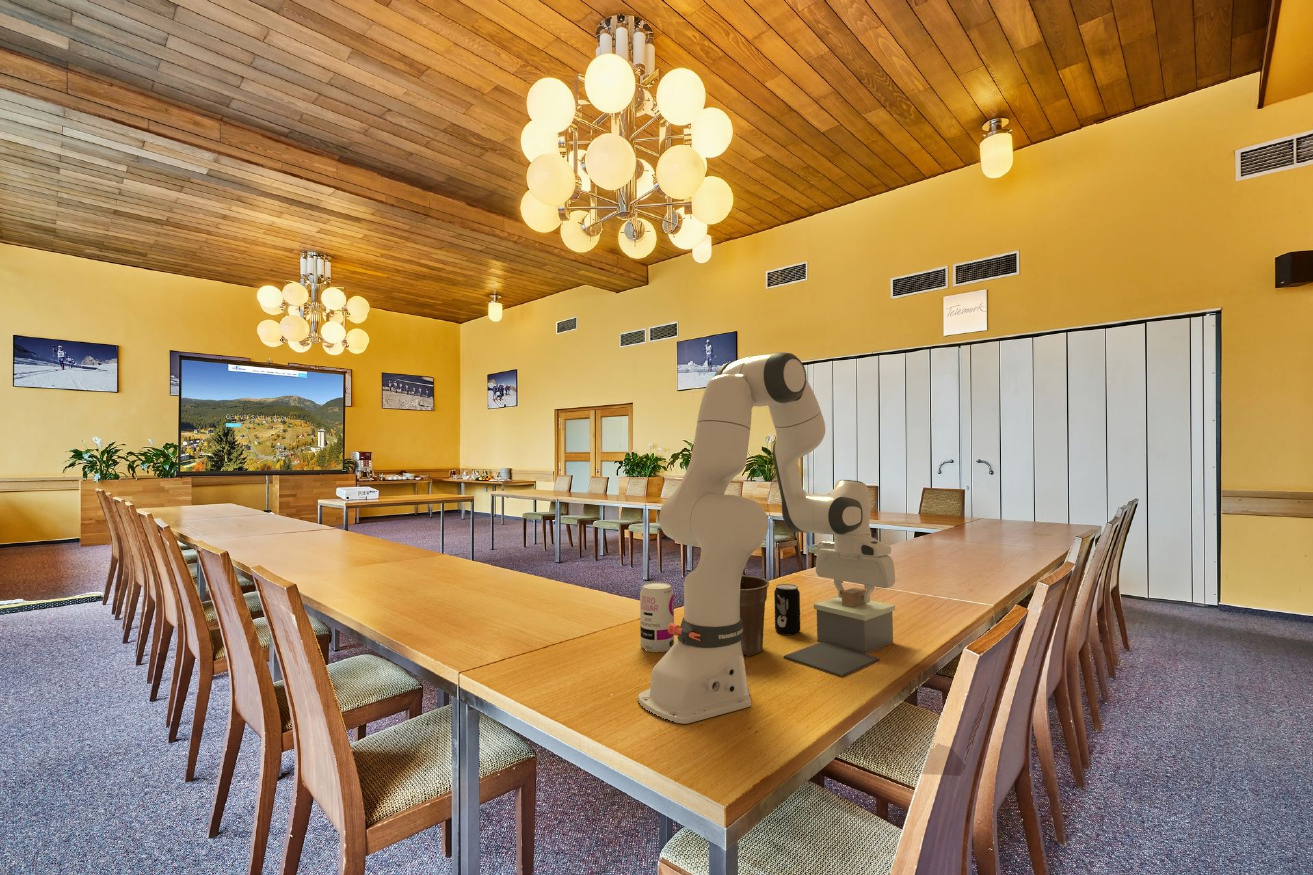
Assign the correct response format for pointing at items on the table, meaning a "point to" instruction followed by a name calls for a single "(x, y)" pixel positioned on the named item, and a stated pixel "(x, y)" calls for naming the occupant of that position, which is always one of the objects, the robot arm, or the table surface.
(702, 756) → the table surface
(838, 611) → the lid
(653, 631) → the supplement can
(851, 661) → the rubber mat
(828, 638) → the storage box
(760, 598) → the plant pot
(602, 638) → the table surface
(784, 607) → the beverage can
